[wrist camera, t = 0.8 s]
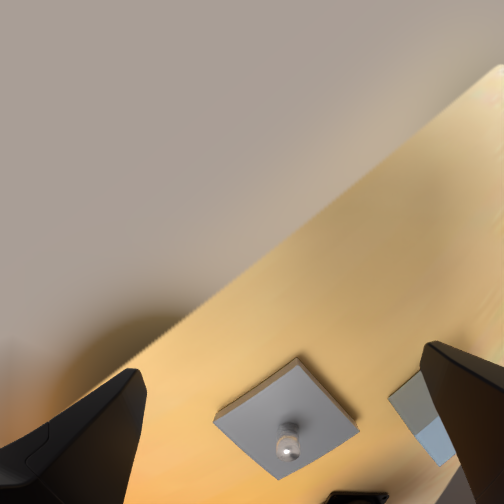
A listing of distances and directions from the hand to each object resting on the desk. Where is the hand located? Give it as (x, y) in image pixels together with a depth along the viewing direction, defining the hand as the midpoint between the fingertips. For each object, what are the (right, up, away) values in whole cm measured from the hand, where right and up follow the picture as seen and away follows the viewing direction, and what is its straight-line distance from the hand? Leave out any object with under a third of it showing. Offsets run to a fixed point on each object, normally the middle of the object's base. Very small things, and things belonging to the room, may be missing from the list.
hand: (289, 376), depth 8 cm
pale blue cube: (+13, -8, +12) cm, 20 cm away
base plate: (+2, -10, +13) cm, 16 cm away
